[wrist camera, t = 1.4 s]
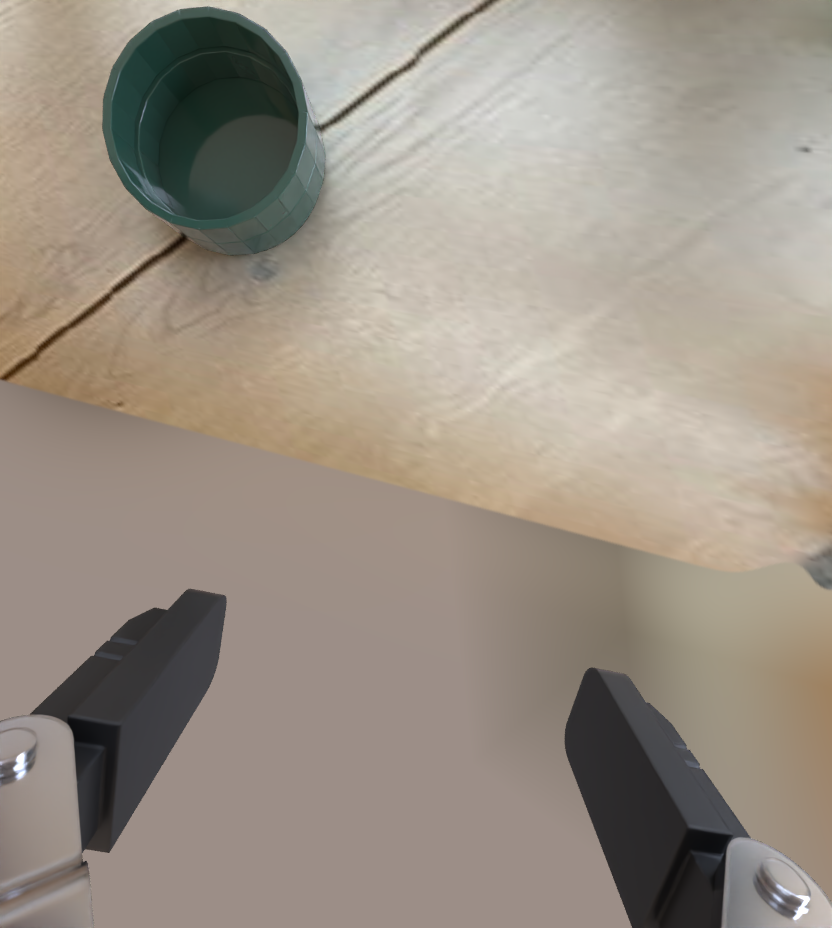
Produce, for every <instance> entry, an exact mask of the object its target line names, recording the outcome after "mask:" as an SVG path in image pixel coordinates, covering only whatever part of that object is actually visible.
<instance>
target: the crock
mask: <svg viewBox="0 0 832 928" xmlns="http://www.w3.org/2000/svg"><path fill="white" fill-rule="evenodd" d="M102 129H103V134H104V138H105V142H106V147H107V151H108V155H109V159H110V161H111V163H112V165H113V167H114V169H115V170H116V172H117V174H118V176H119V178H120V180H121V181H122V183H123V185H124V187H125V188H126V189H127V190H128V191H129V192H130V193H131V194H132V195H133V196H134V198H135V199H136V200H137V201H138V202H139V203H140V204H141V205H142V206H143V207H144V208H145V209H147V210H148V211H149V212H151V213H152V214H153V215H155V216H156V217H157V218H159V219H160V220H161V221H163V222H164V223H166V224H167V225H168V226H170V227H171V228H172V229H174V230H175V231H177V232H178V233H179V234H181V235H182V236H183V237H185V238H187V239H188V240H190V241H192V242H193V243H195V244H197V245H199V246H200V247H202V248H204V249H206V250H209V251H214V252H218V253H222V254H227V255H243V254H255V253H258V252H261V251H265V250H268V249H270V248H273V247H275V246H277V245H279V244H281V243H282V242H284V241H286V240H287V239H288V238H289V237H291V236H292V235H293V234H294V233H295V232H296V231H297V230H298V229H299V228H300V227H301V226H302V225H303V224H304V222H305V221H306V220H307V218H308V217H309V215H310V213H311V212H312V210H313V208H314V206H315V204H316V201H317V199H318V196H319V192H320V189H321V186H322V184H323V181H324V167H325V149H324V144H323V140H322V135H321V130H320V126H319V123H318V121H317V118H316V116H315V113H314V111H313V108H312V106H311V103H310V101H309V98H308V95H307V93H306V90H305V88H304V85H303V83H302V80H301V78H300V76H299V74H298V72H297V70H296V68H295V66H294V64H293V62H292V61H291V59H290V57H289V55H288V53H287V52H286V50H285V49H284V48H283V47H282V46H281V45H280V44H279V43H278V42H277V41H276V39H275V38H274V37H273V36H272V35H271V34H270V33H269V32H268V31H267V30H266V29H265V28H263V27H262V26H260V25H258V24H256V23H255V22H253V21H251V20H250V19H248V18H246V17H244V16H243V15H241V14H238V13H236V12H231V11H227V10H222V9H218V8H213V7H208V6H207V7H197V8H187V9H179V10H177V11H174V12H172V13H170V14H167V15H165V16H163V17H161V18H158V19H156V20H154V21H152V22H150V23H149V24H148V25H147V26H146V27H145V28H143V29H142V30H141V31H140V32H139V33H138V34H137V35H135V36H134V37H133V38H132V39H131V40H130V41H129V42H128V43H127V45H126V46H125V48H124V50H123V51H122V53H121V54H120V56H119V58H118V59H117V61H116V62H115V64H114V65H113V68H112V70H111V73H110V76H109V80H108V83H107V86H106V90H105V93H104V98H103V122H102Z"/></svg>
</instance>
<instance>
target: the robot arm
mask: <svg viewBox="0 0 832 928" xmlns="http://www.w3.org/2000/svg"><path fill="white" fill-rule="evenodd" d="M225 611H226V596H225V595H221V594H215V593H210V592H205V591H200V590H195V589H188V590H186V591H185V592H184V593H183V594H182V595H181V596H180V598H179V599H178V600H177V601H176V602H175V603H174V604H173V605H172V606H171V607H170V608H169V609H168V610H164V609H159V608H153V609H151V610H149V611H146V612H145V613H142V614H140V615H138V616H136V617H134V618H132V619H130V620H128V622H126V623H125V624H124V625H123V626H122V627H121V628H120V629H119V630H118V631H117V632H116V633H115V634H114V635H113V636H112V637H111V639H110V641H107V642H105V643H104V644H103V645H102V646H101V647H100V648H99V649H98V650H97V651H96V652H95V655H94V656H91V657H90V658H89V659H88V660H86V661H85V662H84V663H83V664H82V665H81V666H80V667H79V668H78V669H77V670H76V671H75V672H74V673H73V674H72V675H71V676H70V677H68V679H66V680H65V681H64V682H63V683H62V684H61V685H60V686H59V687H58V688H57V689H56V690H55V691H54V692H53V693H52V694H51V695H50V696H48V697H47V698H46V699H45V700H44V701H43V702H42V703H41V704H40V705H39V706H38V707H37V708H36V709H35V710H34V711H33V712H32V713H31V714H30V715H23V716H17V717H12V718H9V719H5V720H1V721H0V928H94V922H93V921H94V920H93V908H92V896H91V884H90V875H89V868H88V863H87V861H85V862H83V859H82V853H83V851H84V850H85V849H88V850H95V851H101V852H107V853H109V852H110V851H111V849H112V848H113V846H114V844H115V842H116V841H117V839H118V837H119V836H120V834H121V833H122V831H123V829H124V827H125V826H126V824H127V823H128V821H129V819H130V818H131V816H132V814H133V813H134V811H135V809H136V808H137V806H138V804H139V803H140V801H141V799H142V798H143V796H144V795H145V793H146V791H147V789H148V788H149V786H150V785H151V783H152V781H153V780H154V778H155V776H156V775H157V773H158V771H159V770H160V768H161V766H162V765H163V763H164V761H165V760H166V758H167V756H168V755H169V753H170V751H171V749H172V748H173V747H174V745H175V743H176V742H177V740H178V738H179V736H180V735H181V733H182V731H183V730H184V728H185V727H186V725H187V723H188V722H189V720H190V718H191V717H192V715H193V713H194V712H195V710H196V708H197V707H198V705H199V703H200V702H201V700H202V698H203V697H204V695H205V694H206V692H207V690H208V688H209V686H210V684H211V682H212V679H213V677H214V674H215V671H216V668H217V664H218V659H219V653H220V646H221V639H222V631H223V625H224V618H225ZM565 749H566V754H567V757H568V760H569V763H570V765H571V768H572V771H573V773H574V776H575V779H576V781H577V784H578V786H579V789H580V792H581V794H582V797H583V800H584V802H585V805H586V807H587V810H588V813H589V815H590V818H591V820H592V823H593V826H594V829H595V831H596V834H597V836H598V839H599V842H600V844H601V847H602V849H603V852H604V855H605V857H606V860H607V862H608V865H609V868H610V870H611V873H612V876H613V878H614V881H615V883H616V886H617V889H618V892H619V894H620V897H621V899H622V902H623V905H624V907H625V910H626V913H627V915H628V918H629V920H630V923H631V926H632V928H832V902H831V901H830V899H829V898H828V896H827V895H826V894H825V892H824V891H823V890H822V889H821V888H820V886H819V885H818V884H817V883H816V882H815V881H814V880H813V879H812V878H811V877H810V876H809V875H808V874H807V873H806V872H805V871H804V870H803V869H802V868H801V867H800V866H799V865H797V864H796V863H795V862H794V861H792V860H791V859H790V858H788V857H787V856H785V855H784V854H782V853H781V852H780V851H778V850H776V849H774V848H773V847H771V846H769V845H767V844H765V843H763V842H760V841H757V840H755V839H751V838H750V836H749V835H748V833H747V832H746V831H745V829H744V828H743V826H742V825H741V823H740V822H739V820H738V819H737V817H736V816H735V815H734V813H733V812H732V810H731V809H730V807H729V806H728V805H727V803H726V802H725V800H724V799H723V797H722V796H721V794H720V793H719V792H718V790H717V789H716V787H715V786H714V784H713V783H712V781H711V780H710V779H709V777H708V776H707V774H706V773H705V771H704V770H703V769H700V767H699V765H700V764H699V763H698V761H697V760H696V759H695V757H694V756H693V754H692V753H691V751H690V750H687V748H686V744H685V743H684V741H683V740H682V738H681V737H680V735H679V734H678V733H677V731H676V730H675V728H674V727H673V725H672V724H671V723H670V722H669V721H668V720H667V719H666V718H665V717H664V716H663V715H662V714H660V713H659V712H658V711H657V710H656V709H655V708H654V707H653V706H652V705H651V704H650V703H646V702H645V700H644V699H643V697H642V696H641V694H640V693H639V691H638V690H637V688H636V687H635V685H634V684H633V682H632V681H631V679H630V678H629V677H628V676H627V675H626V674H623V673H618V672H613V671H608V670H602V669H597V668H589V669H588V670H587V671H586V672H585V674H584V676H583V679H582V682H581V685H580V688H579V691H578V693H577V696H576V699H575V701H574V704H573V707H572V710H571V713H570V716H569V718H568V721H567V724H566V729H565Z"/></svg>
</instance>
